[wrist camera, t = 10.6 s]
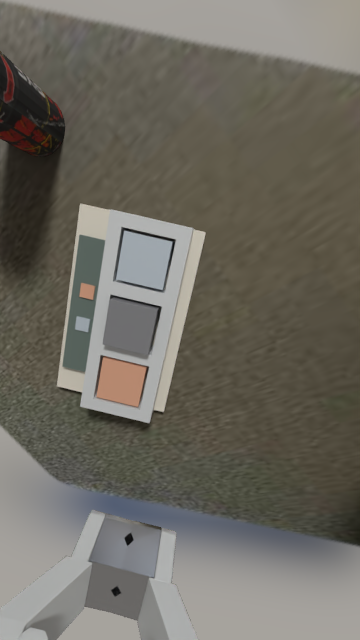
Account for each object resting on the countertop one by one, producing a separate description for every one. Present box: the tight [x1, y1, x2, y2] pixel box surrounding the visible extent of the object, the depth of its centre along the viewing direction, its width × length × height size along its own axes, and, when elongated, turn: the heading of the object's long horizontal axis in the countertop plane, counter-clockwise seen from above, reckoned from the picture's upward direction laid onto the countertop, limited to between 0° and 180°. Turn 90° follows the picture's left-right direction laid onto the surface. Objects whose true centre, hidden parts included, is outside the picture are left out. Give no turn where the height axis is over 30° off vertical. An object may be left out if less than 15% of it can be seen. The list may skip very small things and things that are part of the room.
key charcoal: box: [103, 296, 160, 355], centre depth 33 cm, size 5×5×2 cm
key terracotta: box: [96, 356, 149, 407], centre depth 36 cm, size 5×5×2 cm
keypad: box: [57, 204, 206, 423], centre depth 34 cm, size 14×22×4 cm, turn 167°
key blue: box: [116, 231, 175, 290], centre depth 32 cm, size 5×5×2 cm
